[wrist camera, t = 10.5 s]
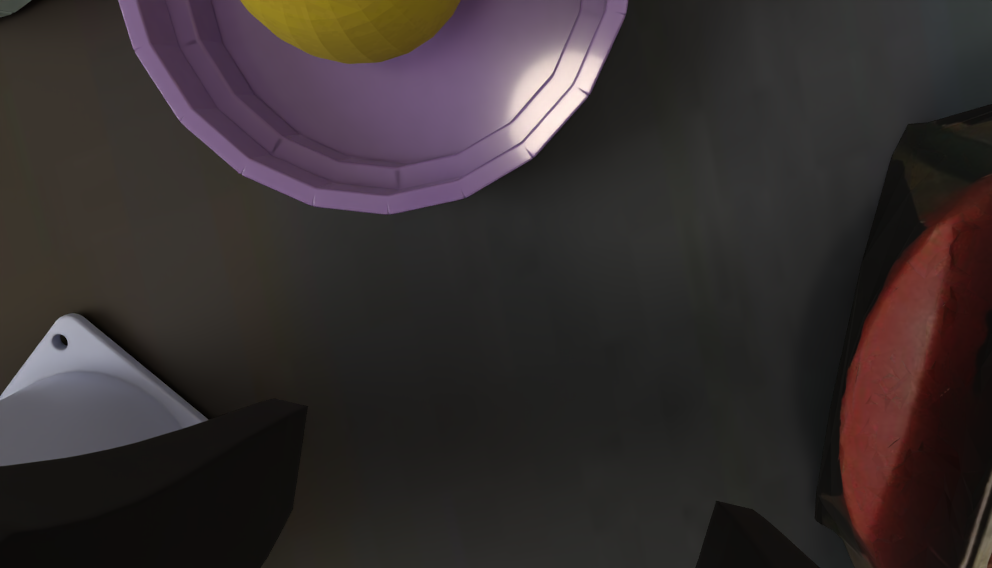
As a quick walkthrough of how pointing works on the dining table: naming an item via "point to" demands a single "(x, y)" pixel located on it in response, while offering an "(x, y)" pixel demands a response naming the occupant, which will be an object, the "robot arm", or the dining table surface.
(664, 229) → the dining table surface
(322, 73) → the lavender bowl
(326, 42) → the lemon
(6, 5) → the celadon bowl
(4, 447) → the robot arm
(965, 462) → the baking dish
